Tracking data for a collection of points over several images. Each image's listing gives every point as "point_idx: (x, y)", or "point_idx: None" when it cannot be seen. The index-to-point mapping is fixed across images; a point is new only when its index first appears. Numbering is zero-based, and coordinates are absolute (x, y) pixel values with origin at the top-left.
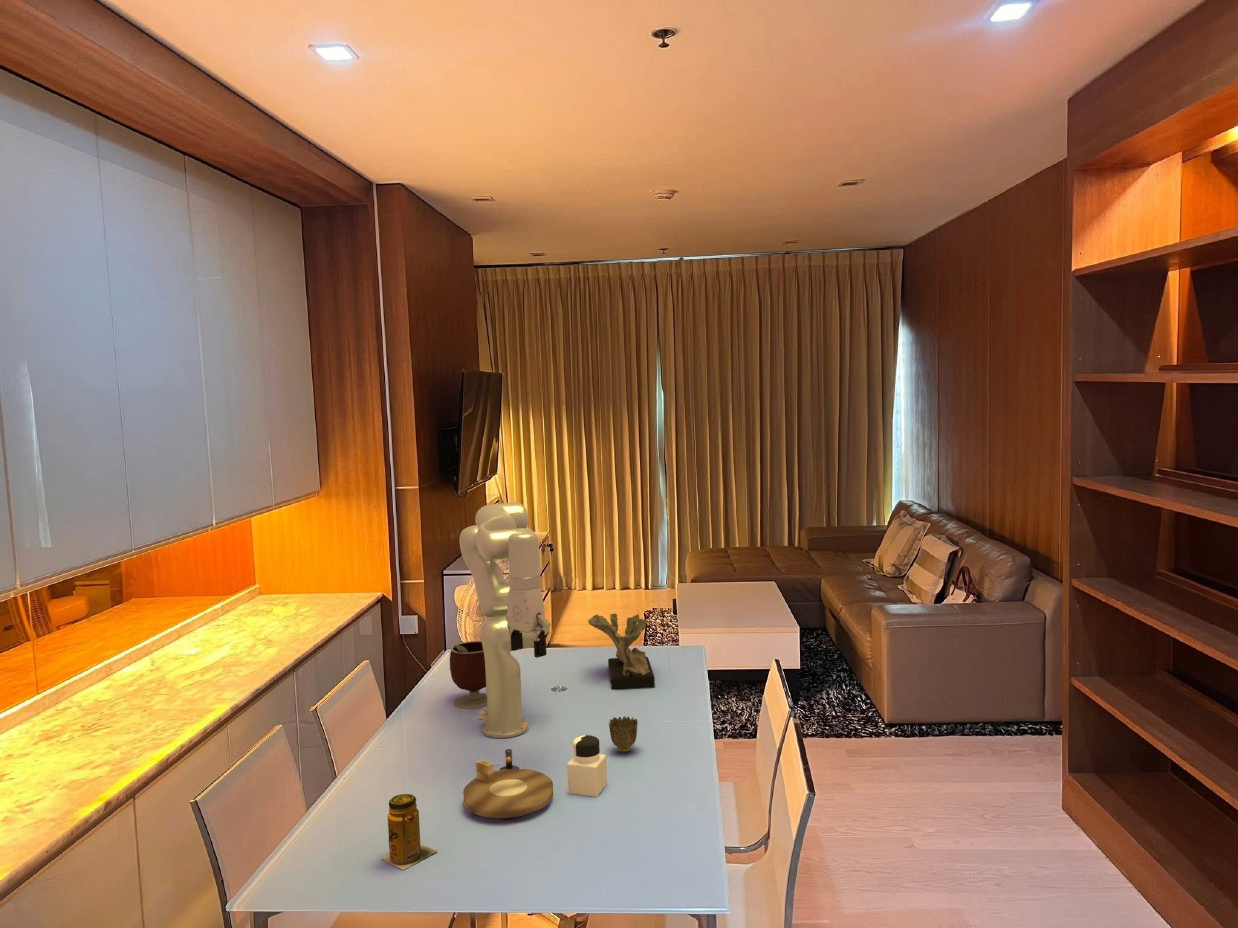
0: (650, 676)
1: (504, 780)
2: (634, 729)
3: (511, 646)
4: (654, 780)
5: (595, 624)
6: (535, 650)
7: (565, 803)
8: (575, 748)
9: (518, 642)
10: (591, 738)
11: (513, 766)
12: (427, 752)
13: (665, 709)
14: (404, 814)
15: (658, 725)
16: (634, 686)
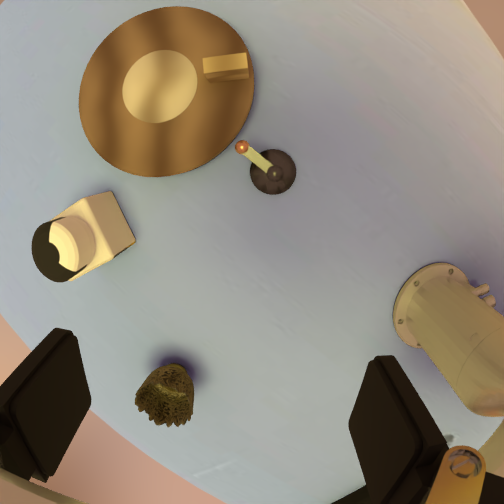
0: None
1: (190, 96)
2: (140, 399)
3: (396, 371)
4: (64, 316)
5: None
6: (31, 353)
7: (89, 162)
8: (58, 220)
9: (370, 434)
10: (43, 261)
11: (278, 188)
12: (471, 141)
13: (254, 485)
14: None
15: (217, 454)
16: (344, 499)
